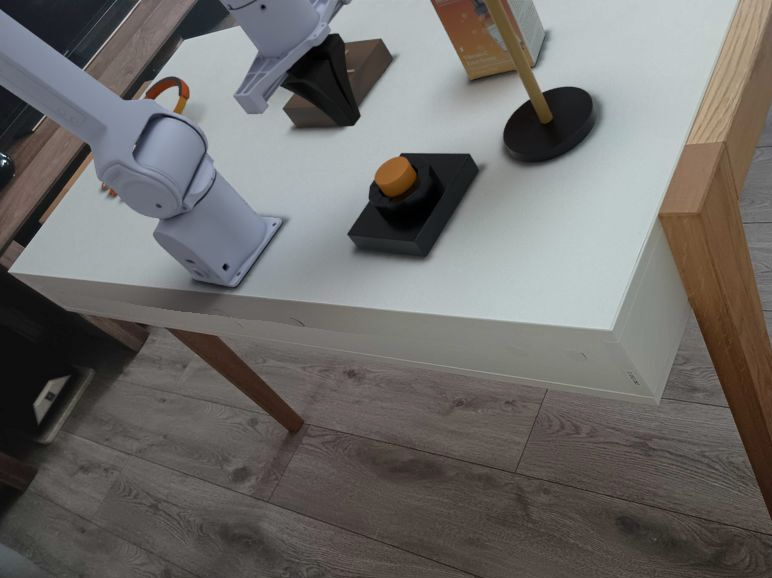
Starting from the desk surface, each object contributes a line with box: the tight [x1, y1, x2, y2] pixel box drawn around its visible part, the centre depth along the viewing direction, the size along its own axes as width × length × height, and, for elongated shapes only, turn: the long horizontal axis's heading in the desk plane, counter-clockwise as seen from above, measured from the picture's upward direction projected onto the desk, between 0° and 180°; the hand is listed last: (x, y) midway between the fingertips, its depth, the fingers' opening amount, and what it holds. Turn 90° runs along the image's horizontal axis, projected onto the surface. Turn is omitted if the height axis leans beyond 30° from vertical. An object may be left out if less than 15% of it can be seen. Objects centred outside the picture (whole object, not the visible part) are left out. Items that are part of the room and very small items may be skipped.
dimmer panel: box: [282, 37, 394, 128], centre depth 93 cm, size 12×9×3 cm
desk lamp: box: [484, 0, 598, 164], centre depth 63 cm, size 10×10×24 cm
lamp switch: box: [373, 156, 417, 197], centre depth 70 cm, size 4×4×2 cm
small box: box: [429, 0, 546, 81], centre depth 78 cm, size 8×6×10 cm
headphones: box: [101, 75, 191, 197], centre depth 109 cm, size 17×5×20 cm
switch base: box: [346, 152, 480, 257], centre depth 72 cm, size 11×9×4 cm
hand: (350, 121), depth 68 cm, fingers closed
